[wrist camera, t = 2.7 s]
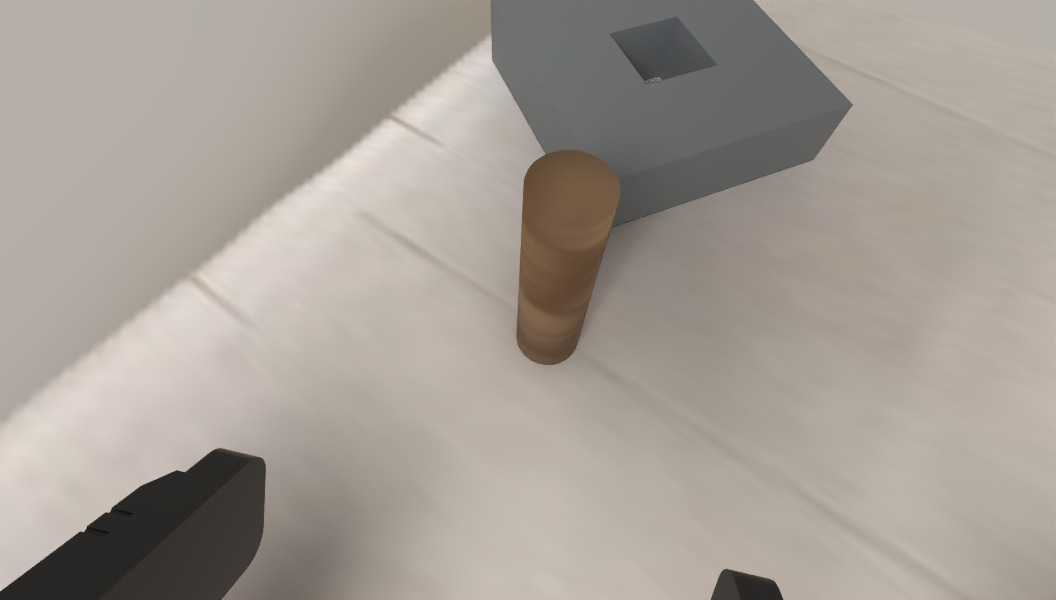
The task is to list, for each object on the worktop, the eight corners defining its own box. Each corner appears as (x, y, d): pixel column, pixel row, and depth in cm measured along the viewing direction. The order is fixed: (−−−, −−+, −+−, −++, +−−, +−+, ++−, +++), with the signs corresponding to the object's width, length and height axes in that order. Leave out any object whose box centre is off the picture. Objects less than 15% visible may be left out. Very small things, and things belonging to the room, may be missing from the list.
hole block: (686, 11, 42) (705, -50, 38) (813, 159, 35) (852, 104, 31) (492, 59, 38) (490, -2, 34) (591, 234, 32) (603, 183, 28)
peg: (562, 301, 30) (594, 139, 19) (587, 351, 28) (637, 209, 18) (507, 320, 29) (508, 165, 18) (530, 373, 27) (547, 238, 17)
